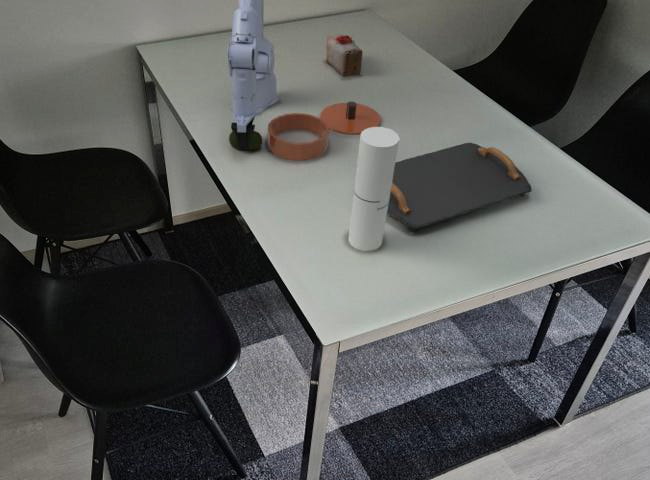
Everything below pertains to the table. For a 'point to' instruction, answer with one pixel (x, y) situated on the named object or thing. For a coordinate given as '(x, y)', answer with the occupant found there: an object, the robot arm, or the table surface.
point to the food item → (344, 55)
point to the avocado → (254, 141)
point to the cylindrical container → (372, 187)
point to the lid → (350, 118)
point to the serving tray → (452, 184)
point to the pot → (298, 149)
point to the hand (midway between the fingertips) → (244, 143)
